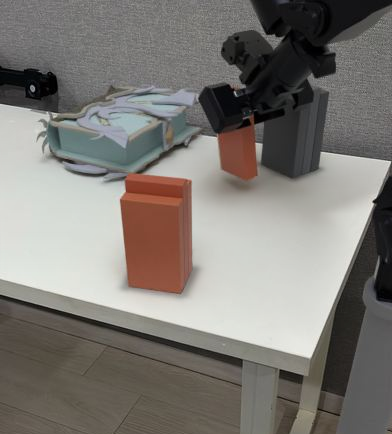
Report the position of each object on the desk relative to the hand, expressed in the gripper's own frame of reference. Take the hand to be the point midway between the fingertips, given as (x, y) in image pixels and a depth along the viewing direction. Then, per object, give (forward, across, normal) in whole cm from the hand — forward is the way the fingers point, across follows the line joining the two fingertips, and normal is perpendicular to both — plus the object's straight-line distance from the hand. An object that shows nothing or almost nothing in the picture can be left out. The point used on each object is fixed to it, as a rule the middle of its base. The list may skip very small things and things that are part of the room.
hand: (230, 128), depth 89 cm
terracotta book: (+4, 0, +6) cm, 7 cm away
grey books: (+6, -13, +8) cm, 16 cm away
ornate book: (+23, +5, -10) cm, 26 cm away
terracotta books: (-5, +26, +18) cm, 32 cm away
